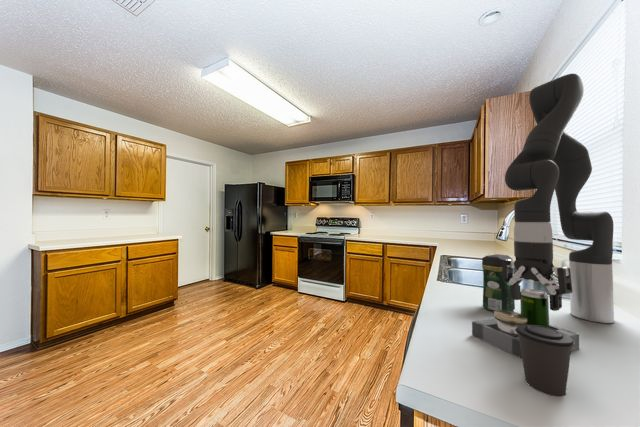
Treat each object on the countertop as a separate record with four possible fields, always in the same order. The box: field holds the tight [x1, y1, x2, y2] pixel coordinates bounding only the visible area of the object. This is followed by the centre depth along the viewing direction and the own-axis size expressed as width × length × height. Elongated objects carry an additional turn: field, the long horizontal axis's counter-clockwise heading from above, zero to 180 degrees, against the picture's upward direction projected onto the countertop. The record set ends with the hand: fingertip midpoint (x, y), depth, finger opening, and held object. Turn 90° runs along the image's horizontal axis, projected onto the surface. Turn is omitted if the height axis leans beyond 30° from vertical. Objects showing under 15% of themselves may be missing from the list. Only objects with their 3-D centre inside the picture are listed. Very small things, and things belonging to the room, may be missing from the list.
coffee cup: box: [515, 325, 576, 397], centre depth 45 cm, size 8×8×10 cm
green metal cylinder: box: [519, 288, 550, 327], centre depth 63 cm, size 5×5×12 cm
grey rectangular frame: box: [471, 317, 580, 360], centre depth 61 cm, size 17×13×4 cm
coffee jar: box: [481, 253, 516, 313], centre depth 85 cm, size 10×8×19 cm
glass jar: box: [493, 310, 527, 338], centre depth 60 cm, size 6×6×7 cm
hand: (534, 304), depth 63 cm, fingers open, 8 cm apart
